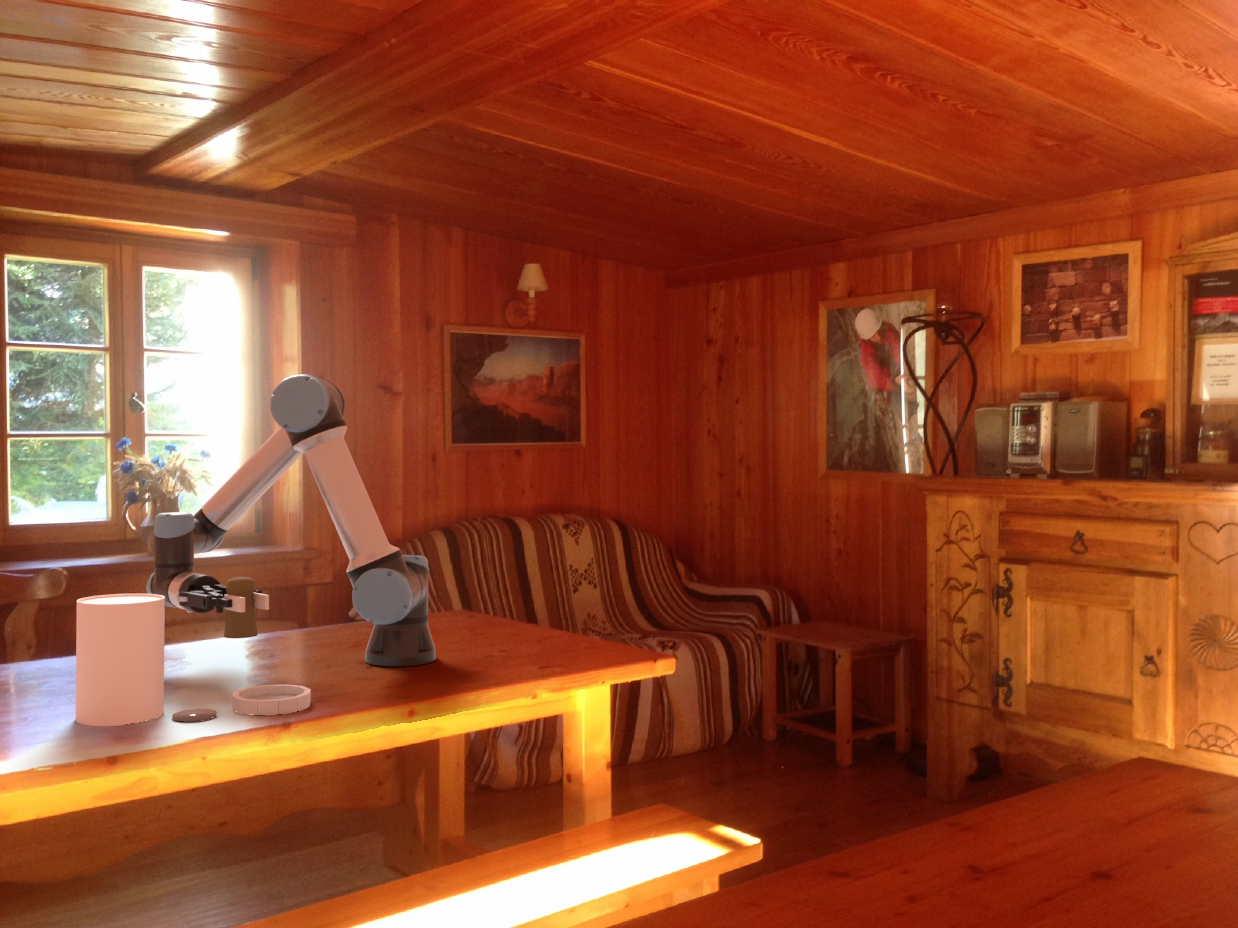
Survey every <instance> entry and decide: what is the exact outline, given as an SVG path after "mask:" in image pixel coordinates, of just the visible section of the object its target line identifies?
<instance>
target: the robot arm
mask: <svg viewBox="0 0 1238 928" xmlns="http://www.w3.org/2000/svg"><path fill="white" fill-rule="evenodd" d="M269 401H270V402H269V408H270V412H271V415H272V417H273V419H274V421H275V423H276V424H277V425H278V426H279V427H278V428H277V429H276V430H275V431H274V432H273V433H272V434H271V435H270V436H269V437H268V438H267V439H266V441H264V443H263V444H261V446H260V447H258V449H257V450H256V451H255V452H253V454H252V455H251V456H250V457H249V458H248V459H247V460H246V461H245V462H244V463H243V464H241V466H240V467H239V468H238V469H237V470H236V472H234V474H232V475H231V477H230V478H228V479H227V481H226V482H225V483H223V484H222V486H221V487H220V488H219V489H218V490H217V491H216V492H215V493H214V494H213V495H212V496H211V497H210V498H209V499H208V500H207V501H206V502H205V503H204V504H203V505H202V506H201V508H199V510H198V511H196V513H195V514H194V515H193V514H192V513H191V512H188V511H187V512H185V511H183V512H182V511H181V512H180V511H175V512H172V511H171V512H160V513H158V514H156V516H155V518H154V526H153V527H154V528H153V536H154V537H153V539H154V541H153V542H154V543H153V545H154V567H153V568H154V570H153V571H154V572H153V573H151V574H150V576H149V578H148V580H147V582H146V587H145V589H146V594H157V595H162V596H164V597H165V608H166V607H167V608H174V609H175V608H176V609H181V610H186V613H188V614H191V613H192V612H194V613H197V614H207V613H209V612H212V611H213V610H216V611H215V613H217V614H221V613H224V610H231V611H236V612H241V613H242V612H245V597H240V596H234V595H229V594H228V593H227V591H226V585H223V584H221V582H220V581H219V580H218V579H217V578H216V577H214V576H212V575H209V574H202V573H199V572H198V573H196V572H195V569H194V568H195V566H194V565H195V555H196V554H197V555H198V554H204V553H205V554H206V553H209V552H212V551H213V550H214V549H216V548H218V547H219V546H220V545H222V542H223V541H224V538H225V535H226V534H227V533H228V532H229V530H230V529H231V528H232V527H233V526H234V525H235V524H236V523H237V522H238V521H240V519H241V518H242V517H243V516H244V515H245V514H246V513H247V512H248V511H249V510H250V509H251V508H252V507H253V506H254V505H255V503H257V502H258V500H259V499H261V498H262V496H264V495H265V493H266V492H267V491H268V490H269V489H270V488H271V487H273V486H274V484H275V483H276V482H277V481H278V480H279V479H280V478H281V477H282V476H283V475H284V474H285V473H286V472H287V471H288V470H289V469H290V468H291V467H292V466H293V465H294V464H295V463H296V461H298V460H299V458H301V456H302V455H304V457H305V459H306V461H307V464H308V466H309V469H310V471H311V473H312V476H313V478H314V481H315V482H316V486H317V487H318V489H319V492H320V495H321V497H322V499H323V501H324V504H325V506H326V508H327V511H328V513H329V515H330V517H331V520H332V522H333V524H334V527H335V529H336V531H337V534H338V536H339V538H340V541H341V543H342V546H343V547H344V550H345V553H346V555H347V557H348V561H349V562H348V565H347V568H346V572H345V573H346V574H347V576H348V578H349V579H348V580H350V583H351V586H352V592H351V596H352V604H353V606H354V609H355V610H356V612H357V613H358V615H359V616H360V617H361V618H363V619H364V620H365V621H367V622H369V623H372V624H373V627H372V630H371V632H370V633H371V634H370V636H369V639H368V642H367V645H366V648H365V652H364V655H365V656H364V662H366V663H367V664H368V665H373V666H382V667H410V666H411V667H412V666H413V667H414V666H420V665H425V664H429V663H432V662H434V661H436V655H437V653H436V652H437V651H436V650H437V649H436V646H435V642H434V640H433V637H432V633H431V631H430V627H429V619H428V618H429V573H430V568H429V559H428V558H427V557H426V556H423V555H409V554H403V553H402V551H401V549H400V548H399V547H397V546H395V545H392V544H390V542H389V540H388V538H387V535H386V532H385V531H384V529H383V526H382V524H381V522H380V519H379V517H378V514H377V512H376V509H375V508H374V505H373V503H372V500H371V498H370V496H369V493H368V491H367V488H366V486H365V484H364V481H363V480H362V476H361V475H360V473H359V470H358V468H357V465H356V464H355V461H354V458H353V457H352V454H351V451H350V449H349V446H348V444H347V443H346V440H345V435H346V432H347V431H348V425H347V423H346V421H345V419H344V418H345V414H346V411H347V409H346V408H347V402H346V397H345V396H344V394H343V391H341V389H340V387H339V386H338V385H336V384H335V383H333V382H332V381H330V380H327V379H324V378H320V377H319V378H318V377H316V376H314V375H312V374H307V373H306V374H305V373H304V374H294V375H291V376H289V377H286V378H284V379H282V380H281V381H280V382H279V383H278V384H277V385H276V387H275V388H274V390H273V391H272V394H271V396H270V400H269ZM263 592H264V591H263V590H261V589H256V587H255V591H254V592H253V594H252V597H253V605H254V609H259V610H270V594H265V593H263Z"/></svg>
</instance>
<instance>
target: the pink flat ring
mask: <svg viewBox="0 0 1238 928" xmlns="http://www.w3.org/2000/svg"><path fill="white" fill-rule="evenodd" d="M311 691H312V689H311V688H309V687H307V686H304V685H299V684H298V685H297V684H284V683H283V684H282V683H281V684H264V685H262V684H261V685H256V686H249V687H245V688H242V689H239V690H236V691H234V692H233V694H232V695H231V710H234V711H237V712H238V713H237V712H236V713H237V714H239V713H241V714H240V715H244V714H253V715H252V716H254V715H266V716H270V715H269V714H273V715H272V716H275V715H274V714H282V715H287V714H292V713H293V712H294V713H298V712H297V711H299V712H301V711H303V710H306V709H309V708H310V706H311V702H312V701H311V699H312V698H311V697H312V692H311ZM308 707H309V708H308ZM234 711H233V712H234Z"/></svg>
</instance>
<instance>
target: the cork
mask: <svg viewBox="0 0 1238 928" xmlns="http://www.w3.org/2000/svg"><path fill="white" fill-rule="evenodd" d="M225 586H226V591H227V593H228V594H229V595H234V596H240V597H245V612H242V613H241V612H236V611H231V610H227V611H226V618H225V626H224V633H223V638H226V639H247V638H248V639H249V638H253V637H257V636H258V634H259V633H258V627H257V619H256V612H255V608H254V605H253V597H252V594H253V592H254V591H255V588H256V583H255V580H254V579H253V578H252V577H247V576H236V577H231V578H230V579H228V580H227V582H226V584H225Z"/></svg>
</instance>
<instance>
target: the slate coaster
mask: <svg viewBox="0 0 1238 928" xmlns="http://www.w3.org/2000/svg"><path fill="white" fill-rule="evenodd" d="M216 715H217V716H218V713H217V710H215V709H214V708H213V709H211V708H191V709H184V710H179V711H176V712H174V713H172V715H171V718H172V720H173V721H174V720H176V721H175V722H177V721H184V722H183V723H194V722H193V721H199V722H202V721H201V720H205V721H209V720H208V719H210V718H212V717H215V718H216V717H217V716H216ZM210 720H211V719H210ZM191 721H192V722H191Z"/></svg>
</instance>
